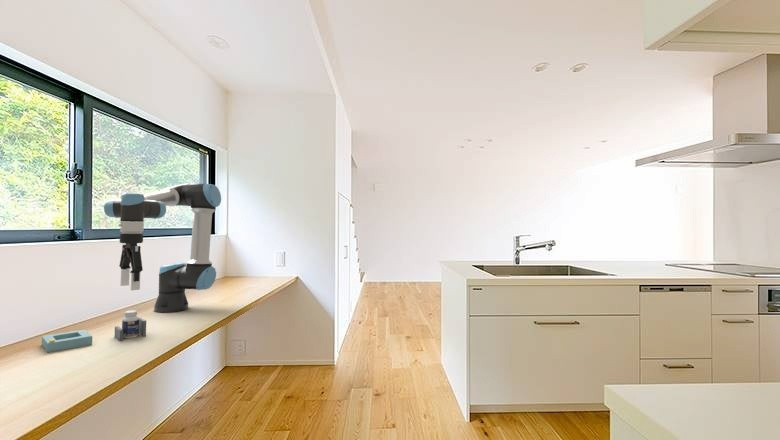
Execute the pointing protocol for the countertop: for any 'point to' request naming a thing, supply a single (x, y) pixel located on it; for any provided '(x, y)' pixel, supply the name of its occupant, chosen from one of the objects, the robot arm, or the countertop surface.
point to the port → (66, 340)
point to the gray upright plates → (142, 330)
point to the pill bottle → (130, 324)
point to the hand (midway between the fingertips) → (129, 287)
